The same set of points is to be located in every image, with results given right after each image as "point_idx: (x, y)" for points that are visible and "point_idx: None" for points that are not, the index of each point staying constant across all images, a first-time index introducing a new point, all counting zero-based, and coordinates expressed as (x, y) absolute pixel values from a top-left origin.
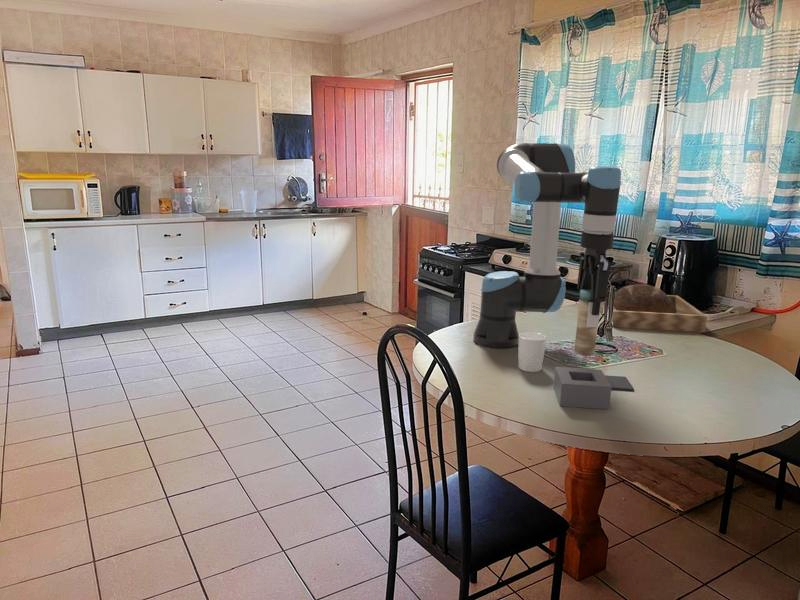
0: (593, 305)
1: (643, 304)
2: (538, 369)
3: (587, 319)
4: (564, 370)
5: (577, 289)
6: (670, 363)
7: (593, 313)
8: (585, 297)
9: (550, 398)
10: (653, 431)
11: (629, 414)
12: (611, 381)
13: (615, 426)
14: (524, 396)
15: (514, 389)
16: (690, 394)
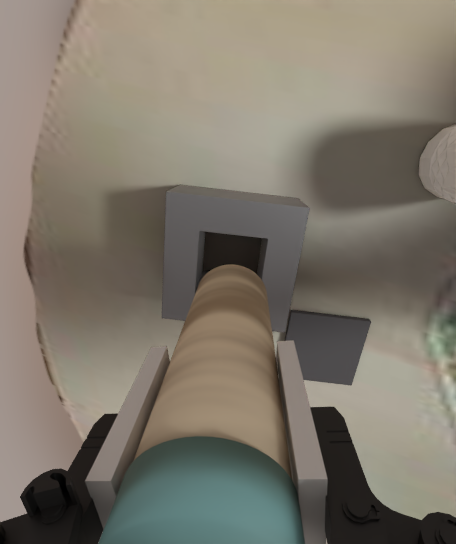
0: (85, 472)
1: None
2: (424, 183)
3: (151, 372)
4: (276, 228)
5: (446, 519)
6: (430, 491)
7: (96, 424)
8: (127, 489)
9: (224, 171)
10: (85, 338)
11: (155, 324)
12: (322, 347)
13: (91, 278)
14: (233, 96)
15: (284, 72)
16: None
